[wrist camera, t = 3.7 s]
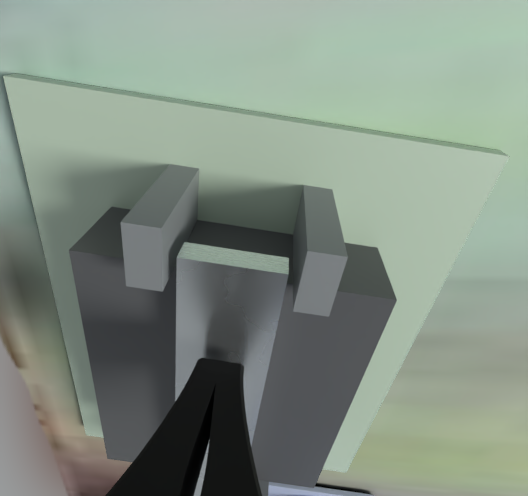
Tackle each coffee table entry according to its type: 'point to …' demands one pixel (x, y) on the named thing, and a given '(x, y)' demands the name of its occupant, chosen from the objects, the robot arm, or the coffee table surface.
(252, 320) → the block
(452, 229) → the board
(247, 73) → the coffee table surface
